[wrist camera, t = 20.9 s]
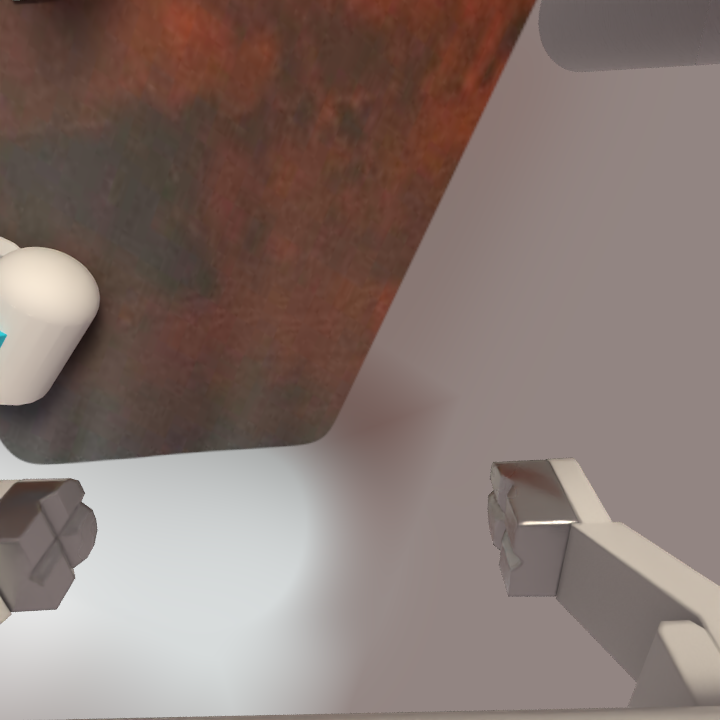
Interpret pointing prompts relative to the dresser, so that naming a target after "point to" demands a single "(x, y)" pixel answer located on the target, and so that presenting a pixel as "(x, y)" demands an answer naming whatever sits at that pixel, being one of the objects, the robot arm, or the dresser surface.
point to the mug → (40, 317)
